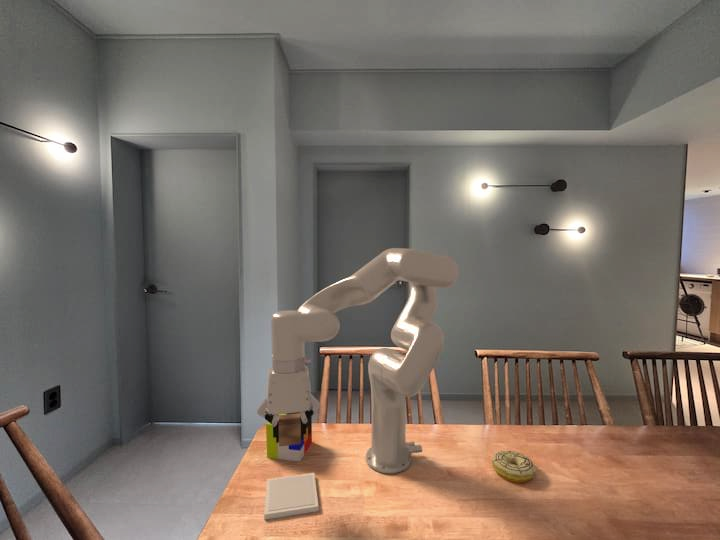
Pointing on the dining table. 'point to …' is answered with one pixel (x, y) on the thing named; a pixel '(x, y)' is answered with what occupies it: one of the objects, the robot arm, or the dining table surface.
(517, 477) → the decorated donut
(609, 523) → the dining table surface
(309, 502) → the plate
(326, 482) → the dining table surface
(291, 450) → the puzzle toy
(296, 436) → the walnut cube
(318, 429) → the dining table surface
